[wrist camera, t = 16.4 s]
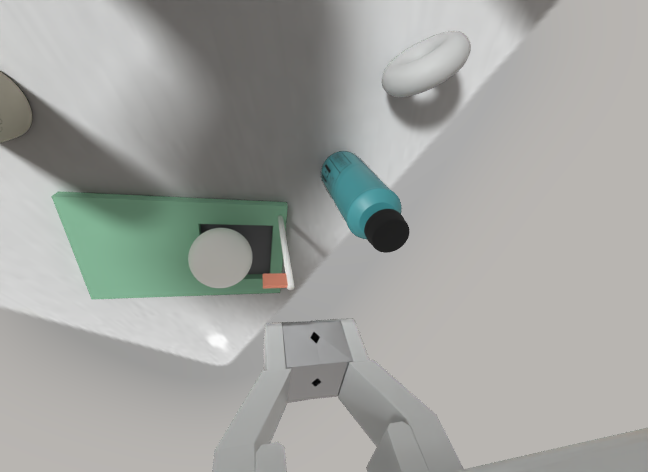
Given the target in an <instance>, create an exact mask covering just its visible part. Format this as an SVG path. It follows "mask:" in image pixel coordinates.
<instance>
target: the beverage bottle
mask: <svg viewBox="0 0 648 472" xmlns="http://www.w3.org/2000/svg"><path fill="white" fill-rule="evenodd" d="M354 154H355V153H354ZM354 154H353V153H350V152H346V151H339V152H336V153H334V154H332V155H331V156H329V157H328V158H327V159H326V161H325V162H324V164H323V167H322V168H321V169H322V172H321V175H322V176H321V177H322V181H323V182H324V184H325V186H326V187H327V188H326V190H327V189H328V191H329V193H330V195H331V196H332V199H333V200H334V202H335V205H337V207H338V209H339V211H340V213H341V214H342V216H343V217H344V219H345V221H346V222H347V225H348V227H349V229H350V230H351V232H352V233H353V234H354V235H356V236H358V237H360V238H363V239H367V240H368V241H369V242H370V243H371V244H372V245H373V247H374V248H375V249H377V250H378V251H380V252H392V251H395V250H397V249H399V248H400V247H401V246H403V245H404V243H405V242H406V240H407V239H408V236H409V227H408V225H407V223H406V221H405V220H404V218H403V217H402V215H401V202H400V200H399V198H398V196H397V195H396V194H395V193H394V192H393V191H391V190H390V189H389V188H388V187H387V186H386V185H385V184H384V183H383V182H382V181H381V180H380V179H379V178H378V177H377V176H376V175H375V174H374V173H373V172H372V171H371V170H370V169H369V168H368V167H369V166H368V167H367V166H366V165H365V164H364V163H365V162H364V163H363V162H362V161H361V160H360V159H361V158H360V159H359V158H358V157H357V156H356V155H354ZM328 191H327V192H328ZM329 193H328V194H329ZM331 196H330V197H331ZM338 209H337V210H338ZM342 216H341V217H342Z"/></svg>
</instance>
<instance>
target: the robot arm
mask: <svg viewBox="0 0 648 472" xmlns="http://www.w3.org/2000/svg"><path fill="white" fill-rule="evenodd" d="M263 364H264V371H262V373H261V374H260V376H259V378H258V379H257V381H256V382H255V384H254V386H253V388H252V389H251V391H250V393H249V394H248V396H247V398H246V399H245V401H244V402H243V404H242V406H241V407H240V409H239V411H238V412H237V414H236V416H235V417H234V419H233V421H232V422H231V424H230V426H229V427H228V429H227V431H226V432H225V434H224V436H223V437H222V439H221V441H220V442H219V444H218V446H217V447H216V449H215V453H214V461H213V470H212V472H287V471H286V459H285V447H284V446H283V445H282V444H280V443H279V442H275V443H271V440H272V438H273V436H274V433H275V431H276V429H277V426H278V424H279V421H280V419H281V417H282V414H283V412H284V410H285V407H286V405H287V403H289V402H296V401H302V400H308V399H315V398H326V397H336V396H338V398H339V400H340V401H341V402H342V403H343V405H344V406H345V407H346V408H347V410H348V411H349V412H350V414H351V415H352V416H353V417H354V419H355V420H356V421H357V422H358V424H359V425H360V426H361V428H362V429H363V430H364V431H365V433H366V434H367V435H368V436H369V438H370V439H371V440H372V441H373V443H374V444H375V445H376V447H377V448H376V450H375V452H374V454H373V455H372V457H371V459H370V461H369V463H368V465H367V467H366V468H367V472H648V428H644V429H640V430H635V431H631V432H626V433H622V434H617V435H613V436H609V437H604V438H600V439H595V440H591V441H587V442H582V443H578V444H573V445H569V446H565V447H561V448H556V449H551V450H547V451H543V452H538V453H534V454H529V455H525V456H521V457H516V458H512V459H507V460H503V461H499V462H494V463H490V464H485V465H481V466H477V467H473V468H468V469H463V467H462V465H461V463H460V461H459V459H458V457H457V455H456V453H455V451H454V449H453V447H452V445H451V443H450V441H449V439H448V437H447V435H446V433H445V431H444V429H443V427H442V425H441V423H440V421H439V419H438V417H437V415H436V414H435V413H434V412H433V411H432V410H430V409H429V408H428V407H427V406H426V405H425V404H424V403H423V402H421V401H420V400H419V399H418V398H416V396H414V395H413V394H412V393H411V392H410V391H409V390H408V389H407V388H405V387H404V386H403V385H402V384H401V383H400V382H399V381H397V380H396V379H395V378H394V377H393V376H392V375H391V374H390V373H388V372H387V371H386V370H385V369H384V368H383V367H382V366H381V365H379V364H378V363H377V362H376V361H375V360H370V359H369V357H368V354H367V351H366V349H365V346H364V343H363V341H362V338H361V335H360V333H359V330H358V328H357V325H356V322H355V320H354V319H353V318H350V319H330V320H316V321H309V322H282V323H266V324H265V335H264V359H263Z"/></svg>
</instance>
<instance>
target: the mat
mask: <svg viewBox="0 0 648 472" xmlns="http://www.w3.org/2000/svg"><path fill="white" fill-rule="evenodd" d="M52 199H53V201H54V204H55V206H56V209H57V211H58V214H59V217H60V219H61V222H62V224H63V227H64V229H65V232H66V235H67V237H68V240H69V242H70V245H71V247H72V250H73V253H74V255H75V258H76V260H77V263H78V265H79V268H80V271H81V273H82V276H83V278H84V281H85V284H86V286H87V289H88V291H89V294H90V296H91V299H115V298H144V297H173V296H201V295H230V294H259V293H280V288H287V289H288V290H293V289H294V288H295V286H294V280H293V274H292V268H291V262H290V257H289V251H288V245H287V239H286V233H285V231H286V219H287V208H288V206H287V202H273V201H251V200H229V199H208V198H186V197H165V196H143V195H122V194H100V193H78V192H57V193H56V194H54V195H53V196H52ZM214 228H228V229H232V230H234V231H237V232H238V233H240V234H241V235H242V236H244V237H245V239H246V240H247V241H248V243H249V245H250V247H251V250H252V256H253V258H252V265H251V268H250V270H249V272H248V274H247V275H246V276H245V277H244V278H243V279H242V280H241V281H240V282H238V283H237V284H235V285H233V286H230V287H227V288H212V287H209V286H206V285H204V284H202V283H201V282H199V281H198V280H197V279H196V278H195V277H194V275H193V274H192V272H191V270H190V267H189V263H188V254H189V250H190V247H191V245H192V244H193V242H194V241H195V239H196V238H197V237H198V236H200V235H201V234H202V233H204V232H206V231H208V230H210V229H214ZM283 260H284V267H285V273H282V264H283Z"/></svg>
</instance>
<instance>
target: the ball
mask: <svg viewBox="0 0 648 472" xmlns="http://www.w3.org/2000/svg"><path fill="white" fill-rule="evenodd" d="M252 258H253V256H252V250H251V247H250V245H249V243H248V241H247V240H246V239H245V237H244V236H242V235H241V234H240V233H238V232H237V231H234V230H232V229H228V228H214V229H210V230H208V231H206V232H204V233H202V234H201V235H200V236H198V237H197V238H196V239H195V241H194V242H193V244H192V245H191V247H190V250H189V254H188V263H189V267H190V270H191V272H192V274H193V275H194V277H195V278H196V279H197V280H198V281H199V282H201V283H202V284H204V285H206V286H209V287H212V288H227V287H230V286H233V285H235V284H237V283H238V282H240V281H241V280H242V279H243V278H244V277H245V276H246V275H247V274H248V272H249V270H250V268H251V265H252Z"/></svg>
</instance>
